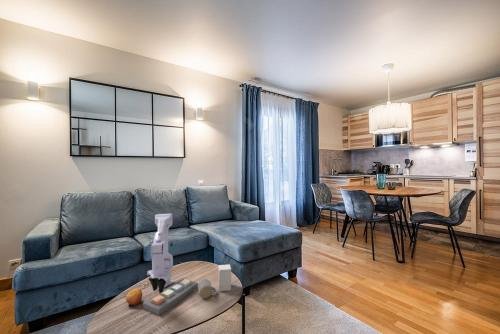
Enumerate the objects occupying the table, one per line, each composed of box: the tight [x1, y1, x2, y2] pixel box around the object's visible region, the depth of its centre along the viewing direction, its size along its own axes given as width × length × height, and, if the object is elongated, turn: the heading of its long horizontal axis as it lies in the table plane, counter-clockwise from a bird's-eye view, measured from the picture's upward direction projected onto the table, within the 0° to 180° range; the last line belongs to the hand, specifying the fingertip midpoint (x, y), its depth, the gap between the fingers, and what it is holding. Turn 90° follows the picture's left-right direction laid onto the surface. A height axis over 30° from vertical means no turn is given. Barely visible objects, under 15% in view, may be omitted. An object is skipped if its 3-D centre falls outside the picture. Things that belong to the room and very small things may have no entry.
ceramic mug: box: [197, 278, 218, 299], centre depth 132 cm, size 11×8×8 cm
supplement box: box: [217, 263, 232, 292], centre depth 140 cm, size 7×7×13 cm
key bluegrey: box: [171, 284, 183, 293], centre depth 132 cm, size 4×4×2 cm
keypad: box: [142, 277, 199, 316], centre depth 130 cm, size 12×29×3 cm, turn 152°
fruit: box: [125, 287, 143, 306], centre depth 125 cm, size 8×8×8 cm
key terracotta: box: [152, 295, 165, 305], centre depth 121 cm, size 4×4×2 cm
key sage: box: [162, 289, 174, 299], centre depth 127 cm, size 4×4×2 cm
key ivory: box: [180, 278, 192, 287], centre depth 138 cm, size 4×4×2 cm
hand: (158, 291), depth 121 cm, fingers open, 4 cm apart
